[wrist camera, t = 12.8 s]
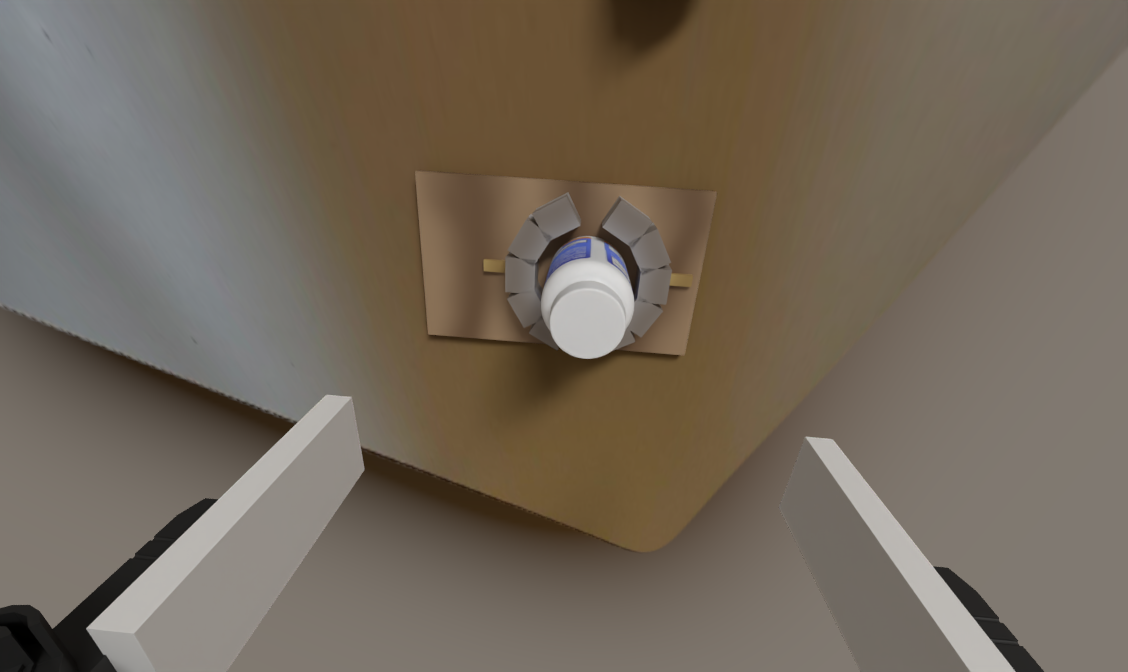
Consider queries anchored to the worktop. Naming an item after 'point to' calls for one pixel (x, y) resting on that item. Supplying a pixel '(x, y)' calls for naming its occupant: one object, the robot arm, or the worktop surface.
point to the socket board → (533, 236)
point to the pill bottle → (587, 297)
